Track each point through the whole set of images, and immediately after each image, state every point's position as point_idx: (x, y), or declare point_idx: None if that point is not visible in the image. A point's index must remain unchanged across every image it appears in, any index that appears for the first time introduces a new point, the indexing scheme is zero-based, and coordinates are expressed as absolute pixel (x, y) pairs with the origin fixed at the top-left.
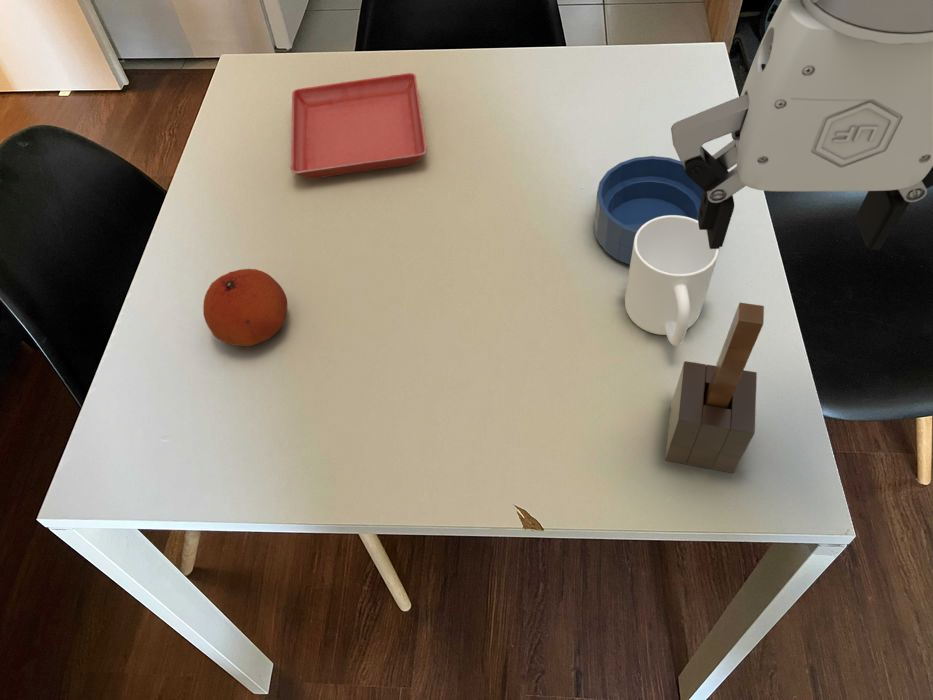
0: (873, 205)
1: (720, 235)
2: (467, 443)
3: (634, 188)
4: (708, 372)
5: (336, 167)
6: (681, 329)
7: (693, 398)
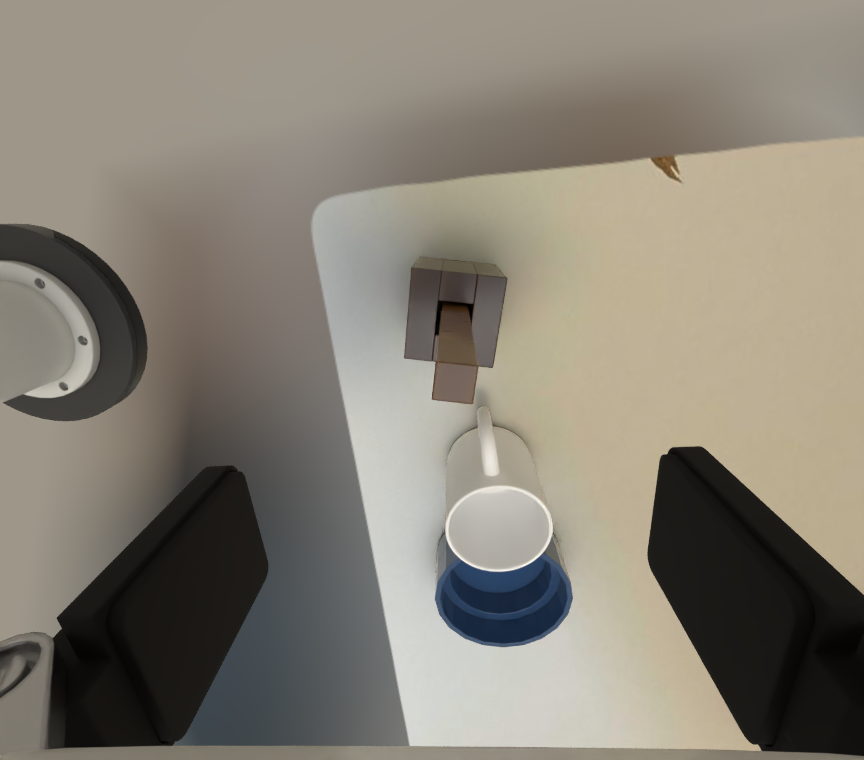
0: (208, 606)
1: (720, 481)
2: (734, 263)
3: (515, 604)
4: None
5: None
6: (486, 419)
7: (485, 312)
